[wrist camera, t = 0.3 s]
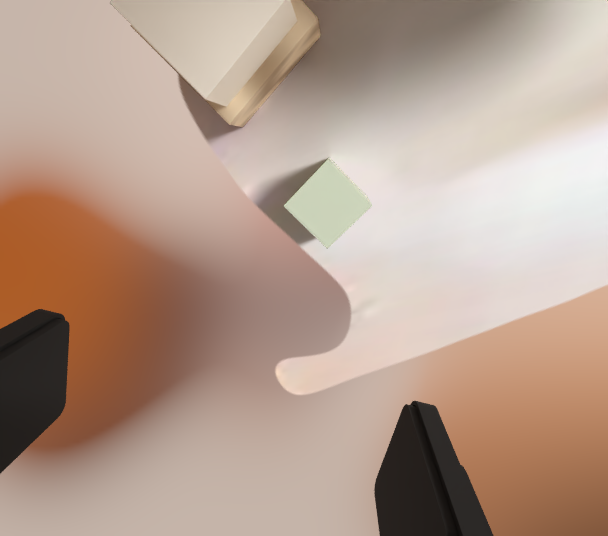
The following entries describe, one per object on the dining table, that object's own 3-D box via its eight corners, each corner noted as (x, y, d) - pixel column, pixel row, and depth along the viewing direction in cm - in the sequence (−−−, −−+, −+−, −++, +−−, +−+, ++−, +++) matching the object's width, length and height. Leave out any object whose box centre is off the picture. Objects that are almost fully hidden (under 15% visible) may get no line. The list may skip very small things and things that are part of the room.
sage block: (329, 157, 35) (327, 159, 29) (366, 196, 35) (372, 205, 30) (291, 196, 36) (283, 206, 30) (328, 232, 37) (327, 248, 31)
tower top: (215, -70, 26) (188, -118, 21) (297, 21, 27) (288, -5, 23) (147, 26, 28) (109, 2, 24) (226, 106, 30) (205, 99, 25)
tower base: (233, -60, 30) (214, -98, 26) (320, 37, 32) (317, 18, 27) (160, 43, 33) (130, 25, 29) (243, 127, 35) (229, 124, 30)
